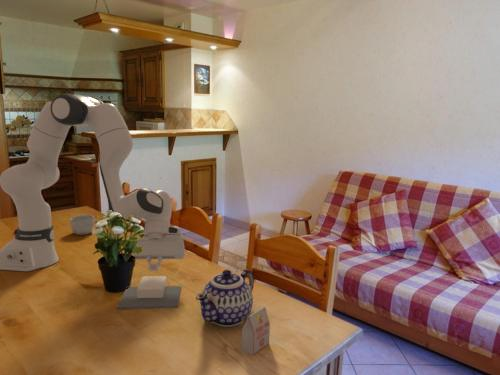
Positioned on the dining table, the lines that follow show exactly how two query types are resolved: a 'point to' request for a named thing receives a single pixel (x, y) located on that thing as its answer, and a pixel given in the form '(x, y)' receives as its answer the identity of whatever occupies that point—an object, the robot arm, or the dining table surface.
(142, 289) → the ceramic tile
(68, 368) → the dining table surface
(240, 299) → the teapot
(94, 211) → the dining table surface
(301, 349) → the dining table surface
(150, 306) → the slate mat
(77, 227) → the teacup
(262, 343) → the grey gable-top carton
